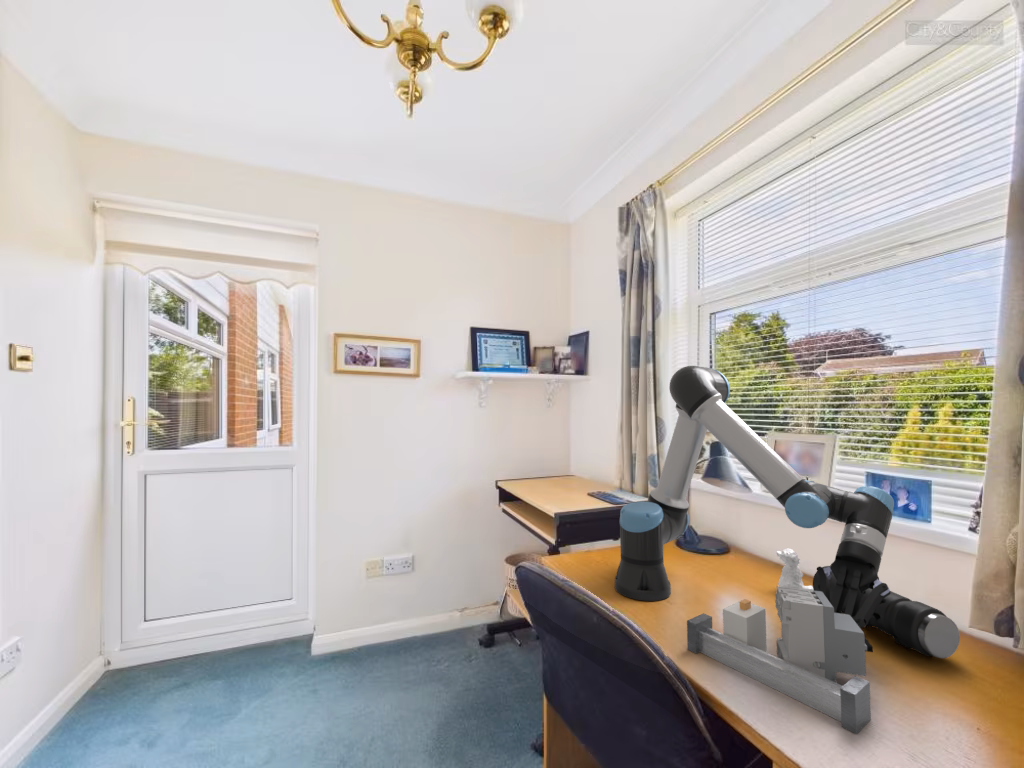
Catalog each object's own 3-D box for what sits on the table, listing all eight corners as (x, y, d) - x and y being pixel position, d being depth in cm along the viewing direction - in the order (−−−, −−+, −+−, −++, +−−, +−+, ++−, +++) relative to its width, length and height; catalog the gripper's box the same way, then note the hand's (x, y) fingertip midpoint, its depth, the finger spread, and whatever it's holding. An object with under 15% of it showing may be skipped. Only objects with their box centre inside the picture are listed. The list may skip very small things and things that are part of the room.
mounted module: (723, 652, 94) (722, 602, 95) (743, 642, 99) (741, 593, 99) (747, 664, 90) (746, 610, 91) (766, 652, 95) (765, 601, 95)
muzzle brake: (845, 604, 118) (843, 563, 118) (965, 665, 90) (962, 611, 91) (811, 606, 117) (810, 565, 117) (923, 668, 89) (920, 614, 89)
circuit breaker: (878, 700, 79) (875, 613, 80) (784, 682, 84) (782, 600, 85) (862, 676, 86) (860, 596, 87) (777, 661, 91) (775, 585, 92)
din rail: (687, 649, 96) (686, 620, 96) (704, 641, 99) (703, 613, 99) (856, 734, 71) (855, 694, 71) (870, 719, 74) (869, 681, 75)
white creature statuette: (821, 596, 122) (819, 551, 123) (801, 602, 118) (800, 556, 119) (787, 584, 131) (785, 542, 131) (767, 589, 127) (766, 546, 128)
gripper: (821, 533, 103) (789, 628, 93) (893, 547, 93) (866, 657, 82) (831, 552, 106) (802, 647, 96) (902, 568, 95) (878, 677, 85)
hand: (832, 651), depth 89 cm, fingers closed
